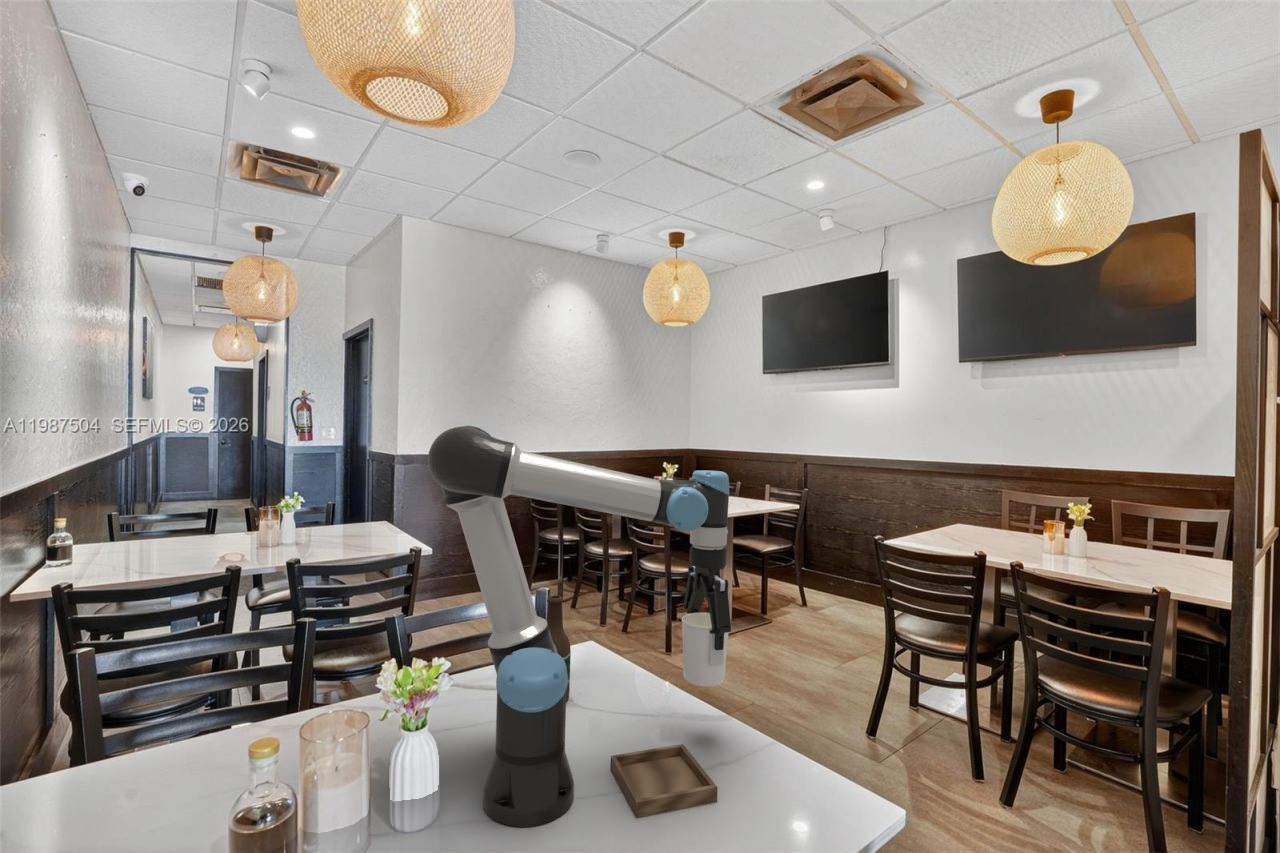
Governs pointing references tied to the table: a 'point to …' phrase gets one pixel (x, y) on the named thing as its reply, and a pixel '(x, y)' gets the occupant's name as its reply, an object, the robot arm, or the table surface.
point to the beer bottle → (559, 633)
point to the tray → (662, 780)
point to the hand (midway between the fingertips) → (704, 655)
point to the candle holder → (700, 651)
